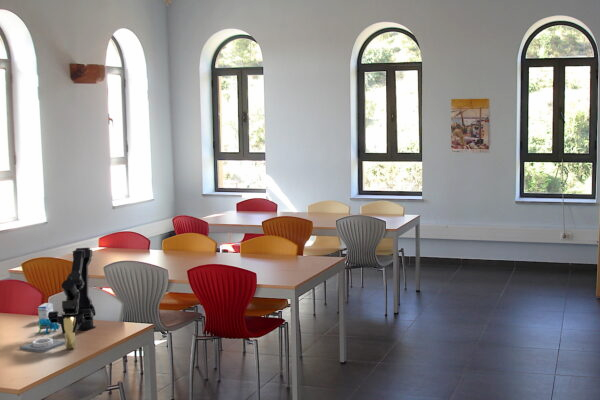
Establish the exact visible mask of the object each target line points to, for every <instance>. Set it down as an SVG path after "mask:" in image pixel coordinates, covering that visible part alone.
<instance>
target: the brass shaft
mask: <svg viewBox="0 0 600 400" xmlns="http://www.w3.org/2000/svg"><path fill="white" fill-rule="evenodd" d="M63 322H64V341H65V344H64V345H65V348H66V349H71V348H72V349H73V348H75V347H77V343H76V340H77V339H76V332H75V333H74V326H75V318H74V317H72V316H69V317H64V318H63Z"/></svg>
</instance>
